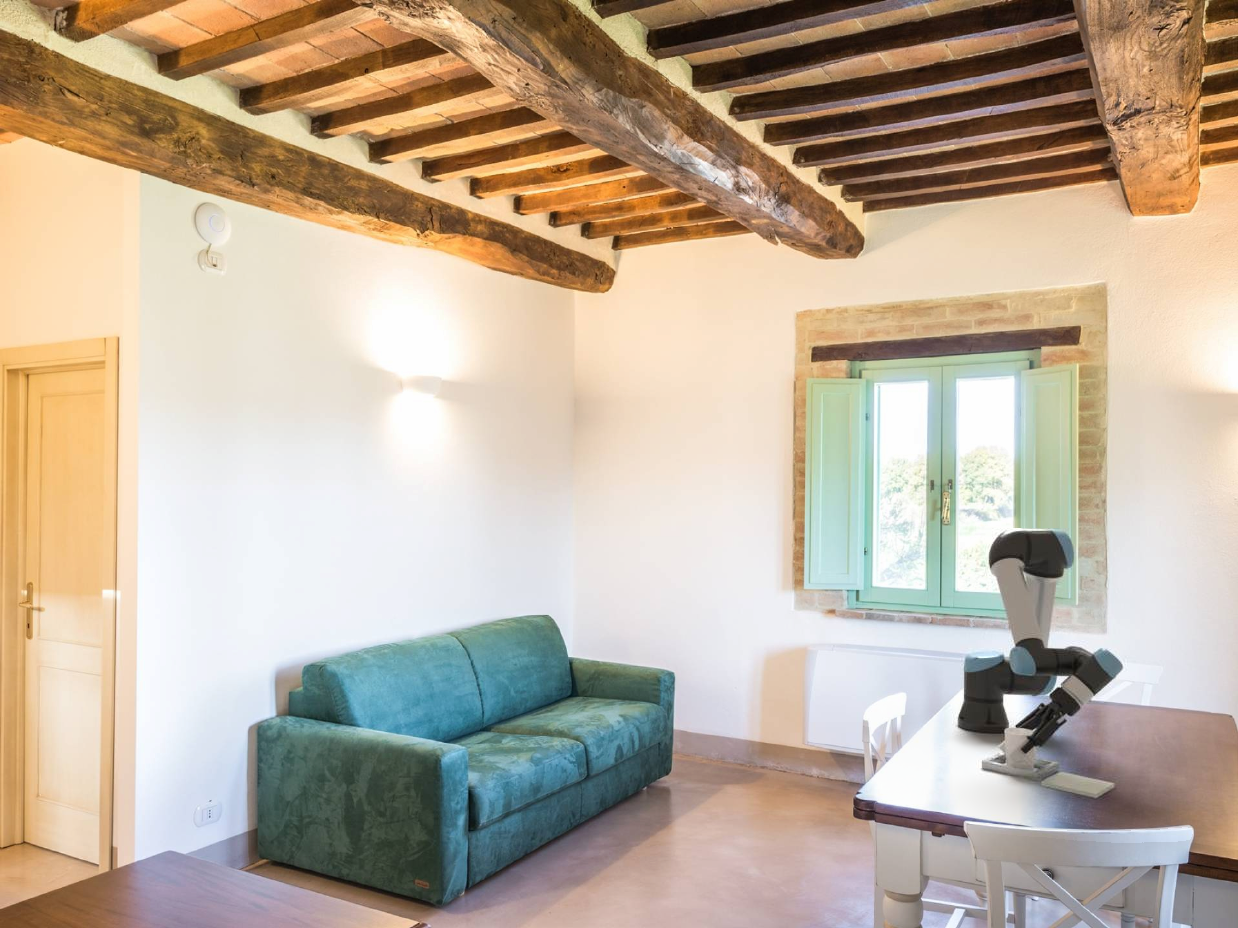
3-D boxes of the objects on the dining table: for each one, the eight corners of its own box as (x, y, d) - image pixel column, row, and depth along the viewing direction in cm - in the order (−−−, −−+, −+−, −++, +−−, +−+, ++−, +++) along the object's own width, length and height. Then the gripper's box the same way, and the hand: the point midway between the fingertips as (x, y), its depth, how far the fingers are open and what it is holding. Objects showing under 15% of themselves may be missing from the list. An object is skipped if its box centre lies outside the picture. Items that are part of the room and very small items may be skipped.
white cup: (1034, 766, 255) (1035, 729, 255) (1037, 774, 248) (1038, 736, 248) (1003, 763, 258) (1003, 726, 258) (1004, 771, 250) (1005, 733, 250)
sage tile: (1041, 785, 239) (1041, 781, 239) (1060, 775, 248) (1060, 771, 248) (1096, 797, 229) (1096, 793, 229) (1114, 787, 239) (1114, 783, 239)
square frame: (981, 768, 253) (981, 760, 253) (1004, 758, 263) (1004, 751, 263) (1037, 780, 242) (1037, 772, 243) (1058, 770, 253) (1058, 762, 253)
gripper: (1096, 715, 242) (1030, 776, 242) (1066, 698, 262) (1004, 754, 263) (1075, 693, 242) (1009, 754, 243) (1046, 678, 263) (985, 734, 264)
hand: (1007, 754), depth 253 cm, fingers closed on white cup, 8 cm apart
